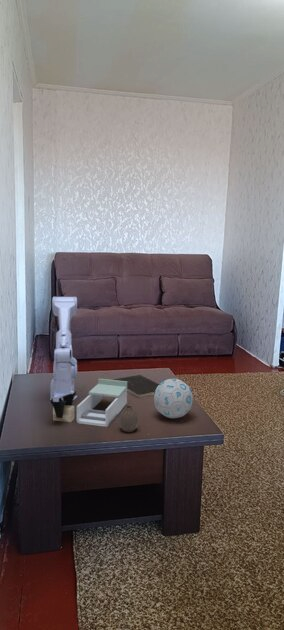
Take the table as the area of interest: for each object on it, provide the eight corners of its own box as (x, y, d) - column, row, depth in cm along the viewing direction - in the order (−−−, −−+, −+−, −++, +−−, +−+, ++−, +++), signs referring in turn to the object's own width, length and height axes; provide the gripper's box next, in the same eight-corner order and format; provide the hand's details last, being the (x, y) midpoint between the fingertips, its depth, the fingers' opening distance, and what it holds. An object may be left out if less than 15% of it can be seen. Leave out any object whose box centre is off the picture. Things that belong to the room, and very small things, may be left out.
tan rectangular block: (52, 420, 175) (52, 407, 174) (57, 416, 179) (57, 404, 178) (70, 422, 173) (70, 409, 173) (74, 418, 177) (74, 406, 176)
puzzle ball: (158, 425, 172) (159, 386, 170) (149, 410, 187) (150, 374, 184) (197, 423, 175) (199, 385, 173) (185, 408, 190) (187, 373, 187)
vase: (131, 435, 163) (131, 411, 162) (115, 430, 167) (115, 407, 165) (141, 428, 169) (142, 405, 168) (125, 424, 173) (126, 401, 171)
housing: (76, 423, 173) (76, 406, 172) (99, 400, 197) (99, 385, 196) (107, 427, 170) (107, 410, 169) (126, 403, 194) (127, 388, 193)
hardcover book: (137, 399, 201) (138, 394, 201) (112, 384, 220) (112, 379, 220) (168, 393, 210) (168, 388, 209) (141, 379, 229) (141, 374, 228)
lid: (88, 394, 184) (88, 387, 184) (98, 384, 196) (98, 378, 195) (118, 397, 181) (118, 390, 181) (127, 387, 193) (127, 381, 192)
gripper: (65, 386, 166) (65, 422, 168) (80, 374, 179) (80, 408, 182) (47, 384, 167) (47, 420, 170) (63, 373, 181) (64, 406, 183)
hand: (63, 413), depth 176 cm, fingers open, 7 cm apart
